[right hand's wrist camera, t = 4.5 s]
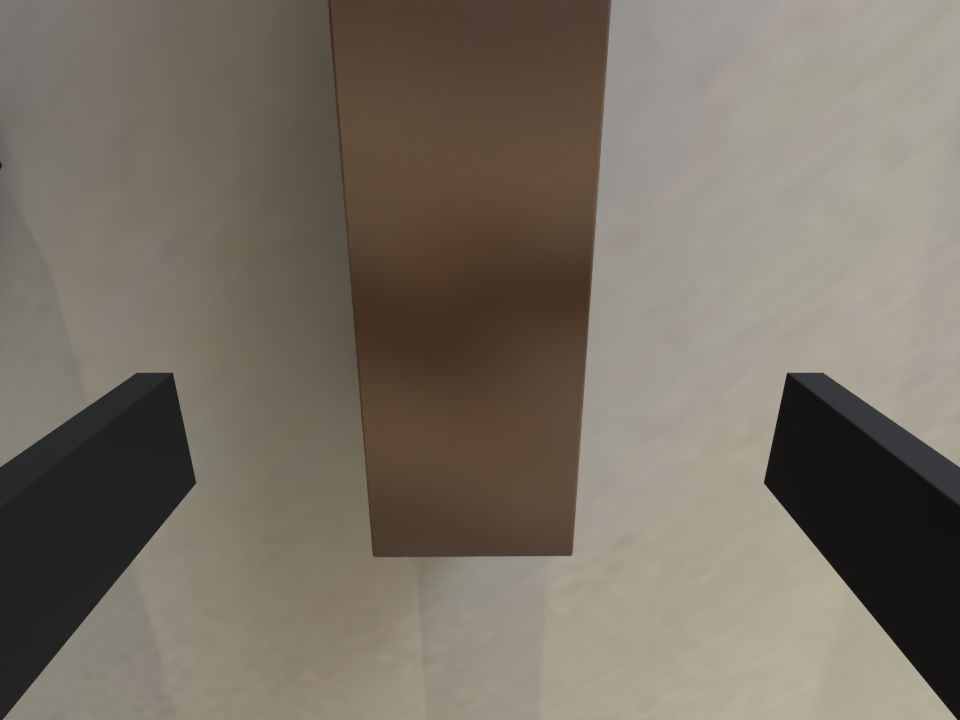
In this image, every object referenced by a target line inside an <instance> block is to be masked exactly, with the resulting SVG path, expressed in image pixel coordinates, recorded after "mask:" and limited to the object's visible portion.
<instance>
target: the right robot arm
mask: <svg viewBox="0 0 960 720" xmlns="http://www.w3.org/2000/svg"><path fill="white" fill-rule="evenodd" d="M195 484H196V480H195V475H194V471H193V466H192V461H191V456H190V452H189V447H188V442H187V438H186V433H185V428H184V423H183V419H182V414H181V409H180V405H179V400H178V395H177V390H176V386H175V381H174V376H173V373H136V374H135V375H133V376H132V377H130V378H129V379H127V380H126V381H125V382H123V383H122V384H120V385H119V386H117V387H116V388H114V389H113V390H112V391H110V392H109V393H107V394H106V395H104V396H103V397H101V398H100V399H99V400H97V401H96V402H94V403H93V404H91V405H90V406H88V407H87V408H86V409H84V410H83V411H81V412H80V413H78V414H77V415H75V416H74V417H73V418H71V419H70V420H68V421H67V422H65V423H64V424H62V425H61V426H59V427H58V428H57V429H55V430H54V431H52V432H51V433H49V434H48V435H46V436H45V437H44V438H42V439H41V440H39V441H38V442H36V443H35V444H33V445H32V446H31V447H29V448H28V449H26V450H25V451H23V452H22V453H20V454H19V455H18V456H16V457H15V458H13V459H12V460H10V461H9V462H7V463H6V464H5V465H3V466H2V467H0V720H3V719H4V717H5V716H6V715H7V714H8V712H9V711H10V710H11V709H12V708H13V706H14V705H15V704H16V703H17V701H18V700H19V699H20V698H21V697H22V695H23V694H24V693H25V692H26V690H27V689H28V688H29V687H30V686H31V684H32V683H33V682H34V681H35V679H36V678H37V677H38V676H39V675H40V673H41V672H42V671H43V670H44V668H45V667H46V666H47V665H48V664H49V662H50V661H51V660H52V659H53V657H54V656H55V655H56V654H57V653H58V651H59V650H60V649H61V648H62V646H63V645H64V644H65V643H66V642H67V640H68V639H69V638H70V637H71V635H72V634H73V633H74V632H75V631H76V629H77V628H78V627H79V626H80V624H81V623H82V622H83V621H84V620H85V618H86V617H87V616H88V615H89V613H90V612H91V611H92V610H93V609H94V607H95V606H96V605H97V604H98V602H99V601H100V600H101V599H102V598H103V596H104V595H105V594H106V593H107V591H108V590H109V589H110V588H111V587H112V585H113V584H114V583H115V582H116V580H117V579H118V578H119V577H120V576H121V574H122V573H123V572H124V571H125V569H126V568H127V567H128V566H129V565H130V563H131V562H132V561H133V560H134V558H135V557H136V556H137V555H138V553H139V552H140V551H141V550H142V549H143V547H144V546H145V545H146V544H147V542H148V541H149V540H150V539H151V538H152V536H153V535H154V534H155V533H156V531H157V530H158V529H159V528H160V527H161V525H162V524H163V523H164V522H165V520H166V519H167V518H168V517H169V516H170V514H171V513H172V512H173V511H174V509H175V508H176V507H177V506H178V505H179V503H180V502H181V501H182V500H183V498H184V497H185V496H186V495H187V494H188V492H189V491H190V490H191V489H192V487H193V486H194V485H195ZM764 484H765V485H766V486H767V487H768V489H769V490H770V491H771V492H772V494H773V495H774V496H775V497H776V498H777V500H778V501H779V502H780V503H781V505H782V506H783V507H784V508H785V509H786V511H787V512H788V513H789V514H790V516H791V517H792V518H793V519H794V520H795V522H796V523H797V524H798V525H799V527H800V528H801V529H802V530H803V531H804V533H805V534H806V535H807V536H808V538H809V539H810V540H811V541H812V542H813V544H814V545H815V546H816V547H817V549H818V550H819V551H820V552H821V553H822V555H823V556H824V557H825V558H826V560H827V561H828V562H829V563H830V565H831V566H832V567H833V568H834V569H835V571H836V572H837V573H838V574H839V576H840V577H841V578H842V579H843V580H844V582H845V583H846V584H847V585H848V587H849V588H850V589H851V590H852V591H853V593H854V594H855V595H856V596H857V598H858V599H859V600H860V601H861V602H862V604H863V605H864V606H865V607H866V609H867V610H868V611H869V612H870V613H871V615H872V616H873V617H874V618H875V620H876V621H877V622H878V623H879V624H880V626H881V627H882V628H883V629H884V631H885V632H886V633H887V634H888V635H889V637H890V638H891V639H892V640H893V642H894V643H895V644H896V645H897V646H898V648H899V649H900V650H901V651H902V653H903V654H904V655H905V656H906V657H907V659H908V660H909V661H910V662H911V664H912V665H913V666H914V667H915V668H916V670H917V671H918V672H919V673H920V675H921V676H922V677H923V678H924V679H925V681H926V682H927V683H928V684H929V686H930V687H931V688H932V689H933V690H934V692H935V693H936V694H937V695H938V697H939V698H940V699H941V700H942V701H943V703H944V704H945V705H946V706H947V708H948V709H949V710H950V711H951V712H952V714H953V715H954V716H955V717H956V719H957V720H960V467H958V466H957V465H955V464H954V463H953V462H951V461H950V460H948V459H947V458H945V457H944V456H942V455H941V454H940V453H938V452H937V451H935V450H934V449H932V448H931V447H929V446H928V445H927V444H925V443H924V442H922V441H921V440H919V439H918V438H916V437H915V436H914V435H912V434H911V433H909V432H908V431H906V430H905V429H903V428H902V427H901V426H899V425H898V424H896V423H895V422H893V421H892V420H890V419H889V418H887V417H886V416H885V415H883V414H882V413H880V412H879V411H877V410H876V409H874V408H873V407H872V406H870V405H869V404H867V403H866V402H864V401H863V400H861V399H860V398H859V397H857V396H856V395H854V394H853V393H851V392H850V391H848V390H847V389H846V388H844V387H843V386H841V385H840V384H838V383H837V382H835V381H834V380H833V379H831V378H830V377H828V376H827V375H825V374H824V373H787V376H786V381H785V386H784V390H783V395H782V400H781V405H780V409H779V414H778V419H777V423H776V428H775V433H774V438H773V442H772V447H771V452H770V456H769V461H768V466H767V471H766V475H765V480H764Z"/></svg>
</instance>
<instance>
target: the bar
mask: <svg viewBox="0 0 960 720" xmlns="http://www.w3.org/2000/svg"><path fill="white" fill-rule="evenodd" d="M328 7H329V20H330V32H331V44H332V57H333V69H334V81H335V94H336V106H337V119H338V131H339V143H340V156H341V168H342V180H343V193H344V205H345V217H346V230H347V242H348V254H349V267H350V279H351V292H352V304H353V316H354V329H355V341H356V353H357V366H358V378H359V390H360V403H361V415H362V427H363V440H364V452H365V464H366V477H367V489H368V502H369V514H370V526H371V539H372V551H373V556H374V557H466V556H571V555H572V553H573V540H574V526H575V512H576V497H577V483H578V469H579V454H580V440H581V426H582V411H583V397H584V382H585V368H586V354H587V339H588V325H589V311H590V296H591V282H592V268H593V253H594V239H595V225H596V210H597V196H598V182H599V167H600V153H601V139H602V124H603V110H604V96H605V81H606V67H607V53H608V38H609V24H610V10H611V0H328Z"/></svg>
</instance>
